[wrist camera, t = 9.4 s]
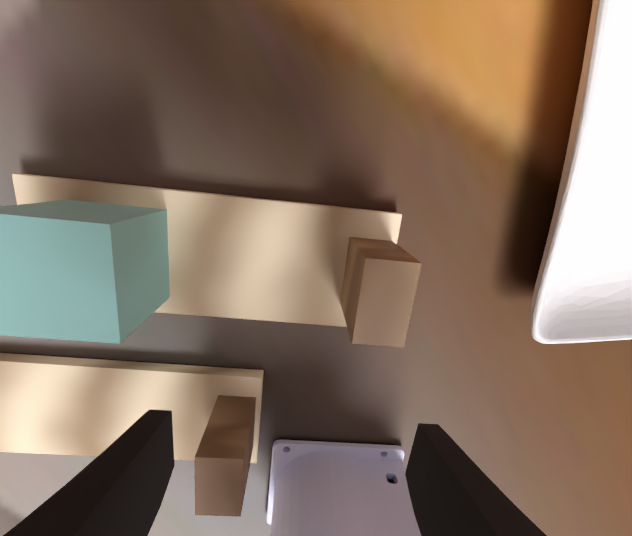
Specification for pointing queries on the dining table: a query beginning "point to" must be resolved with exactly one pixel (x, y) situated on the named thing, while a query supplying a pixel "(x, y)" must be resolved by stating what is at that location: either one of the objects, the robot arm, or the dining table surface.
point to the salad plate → (593, 198)
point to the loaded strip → (268, 257)
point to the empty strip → (137, 414)
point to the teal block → (81, 269)
